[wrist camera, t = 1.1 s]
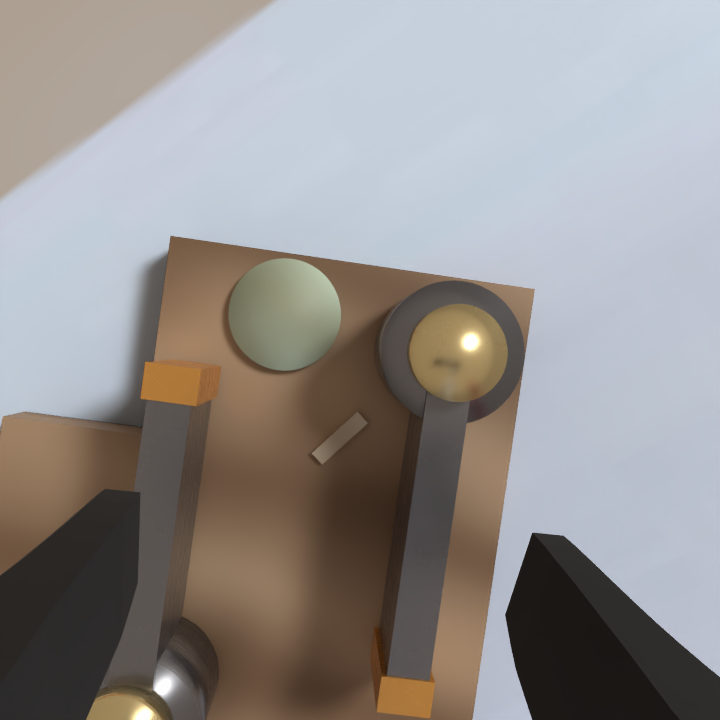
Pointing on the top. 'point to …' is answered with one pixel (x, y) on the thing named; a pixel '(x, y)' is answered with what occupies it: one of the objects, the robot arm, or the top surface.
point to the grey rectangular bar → (165, 558)
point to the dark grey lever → (433, 462)
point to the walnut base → (287, 481)
